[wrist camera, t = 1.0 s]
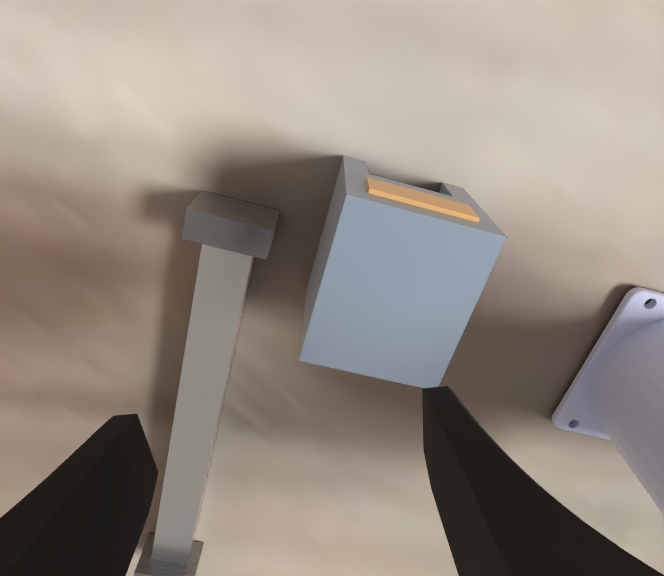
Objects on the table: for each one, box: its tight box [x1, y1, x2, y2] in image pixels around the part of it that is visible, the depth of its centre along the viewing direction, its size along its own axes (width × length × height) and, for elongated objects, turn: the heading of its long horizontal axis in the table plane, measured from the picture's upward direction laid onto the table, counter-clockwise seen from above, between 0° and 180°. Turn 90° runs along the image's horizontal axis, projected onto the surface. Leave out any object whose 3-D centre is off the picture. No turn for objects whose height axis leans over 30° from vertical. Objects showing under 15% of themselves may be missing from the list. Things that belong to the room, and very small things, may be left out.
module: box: [299, 156, 507, 388], centre depth 18 cm, size 5×6×6 cm
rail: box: [134, 191, 280, 576], centre depth 24 cm, size 3×22×2 cm, turn 165°
